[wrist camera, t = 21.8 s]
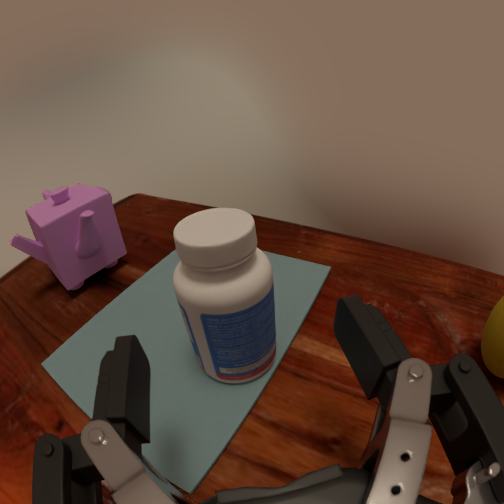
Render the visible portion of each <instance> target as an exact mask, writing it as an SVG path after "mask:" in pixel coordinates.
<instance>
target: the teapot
mask: <svg viewBox="0 0 504 504" xmlns="http://www.w3.org/2000/svg"><path fill="white" fill-rule="evenodd" d="M42 194H43V196H44V199H45V200H44V201H42V202H40V203H38V204H36V205H34V206H33V207H31V208H29V209H27V210H26V211H25V212H26V215H27V217H28V221H29V223H30V225H31V229H32V231H33V234H34V236H35V238H36V241H35V240H31V239H28V238H25V237H22V236H19V235H18V234H17V235H16V236H15V237H14V238H13V239H12V240H11V241H10V244H11V245H12V246H13V247H15V248H17V249H19V250H21V251H23V252H24V253H26V254H28V255H30V256H32V257H34V258H36V259H38V260H40V261H42V262H44V263H46V264H47V265H48V266H49V267H50V269H51V270H52V271H53V273H54V274H55V275H56V277H57V278H58V279H59V280H60V282H61V283H62V284H63V285H64V287H65V288H66V289H67V290H76V289H79V288H80V287H81V286H82V285H83V284H84V280H85V279H87V278H88V277H90V276H91V275H93V274H94V273H96V272H98V271H99V270H101V269H102V268H110V267H113V266H115V265H116V264H117V262H118V260H117V259H119V258H120V257H122V256H124V255H125V254H127V251H126V248H125V245H124V242H123V239H122V235H121V232H120V229H119V225H118V222H117V218H116V215H115V211H114V208H113V204H112V197H111V194H110V193H109V191H108V190H106V189H105V188H101V187H95V188H93V187H90V186H86V185H82V184H77V185H75V186H72V187H70V188H68V186H64V187H60V188H58V189H56V190H54V191H52V192H50V191H49V190H45V191H43V192H42Z"/></svg>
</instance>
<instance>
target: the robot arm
mask: <svg viewBox="0 0 504 504" xmlns="http://www.w3.org/2000/svg"><path fill="white" fill-rule="evenodd" d="M334 332H335V336H336V338H337V340H338V342H339V344H340V346H341V348H342V350H343V352H344V354H345V356H346V358H347V360H348V361H349V363H350V365H351V367H352V369H353V371H354V373H355V375H356V377H357V379H358V381H359V383H360V385H361V387H362V389H363V391H364V393H365V395H366V397H367V399H368V400H370V399H373V398H375V397H377V398H378V400H379V402H380V403H379V405H378V408H377V412H376V416H375V420H374V423H373V427H372V430H371V434H370V437H369V441H368V444H367V446H366V448H365V450H364V452H363V454H362V457H361V459H360V462H359V465H358V467H357V468H341V467H340V464H339V463H338V464H335V465H332V466H329V467H326V468H323V469H320V470H316V471H313V472H310V473H308V474H306V475H304V476H302V477H300V478H298V479H297V480H295V481H293V482H291V483H289V484H287V485H285V486H282V487H241V488H234V489H226V490H218V491H215V493H216V496H213V497H211V498H209V499H207V500H205V501H203V502H202V503H200V504H442V503H439V502H436V501H434V500H431V499H429V498H426V497H424V496H421V495H419V490H420V487H421V483H422V479H423V474H424V470H425V466H426V461H427V456H428V451H429V446H430V440H431V434H432V425H431V424H430V423H428V416H429V418H430V420H431V422H432V424H433V427H434V429H435V431H436V433H437V435H438V437H439V439H440V442H441V444H442V446H443V448H444V450H445V453H446V455H447V457H448V459H449V462H450V464H451V466H452V469H453V471H454V474H455V476H456V477H455V479H454V481H453V484H452V488H451V494H452V496H453V502H452V504H504V407H503V405H502V403H501V402H500V400H499V398H498V396H497V395H496V393H495V391H494V390H493V388H492V386H491V385H490V383H489V382H488V380H487V378H486V377H485V375H484V374H483V372H482V371H481V369H480V367H479V366H478V364H477V363H476V361H475V360H474V359H473V358H472V357H471V356H469V355H467V354H456V355H454V356H453V357H452V358H451V360H450V361H449V363H446V364H437V365H428V364H427V363H426V362H424V361H423V360H421V359H417V358H413V357H412V356H411V354H410V353H409V351H408V350H407V349H406V347H405V346H404V344H403V343H402V341H401V340H400V338H399V337H398V335H397V334H396V332H395V331H394V330H393V329H392V327H391V325H390V324H389V322H387V320H386V318H385V317H384V315H383V314H382V313H381V311H380V310H378V309H377V308H375V307H374V306H373V305H371V304H368V305H365V304H364V303H363V301H362V300H361V298H360V297H359V296H358V295H352V296H348V297H344V298H340V299H339V300H338V302H337V309H336V315H335V321H334ZM150 378H151V370H150V364H149V360H148V358H147V356H146V354H145V352H144V350H143V348H142V346H141V344H140V342H139V340H138V338H137V336H136V335H126V336H117V337H116V339H115V344H114V350H111V351H107V352H106V354H105V355H104V357H103V358H102V360H101V363H100V368H99V375H98V381H97V382H98V384H97V387H96V394H95V401H94V409H93V417H92V421H91V422H89V423H88V424H87V425H86V426H85V427H84V428H83V430H82V432H81V433H80V434H78V435H74V436H71V437H68V438H64V439H60V438H58V437H57V436H55V435H53V434H45V435H43V436H41V437H40V438H39V439H38V440H37V442H36V445H35V450H34V462H33V485H32V504H103V499H102V485H101V481H102V480H105V481H106V482H107V483H108V485H109V486H110V488H111V489H112V492H111V495H112V497H113V499H114V500H115V502H116V503H117V504H193V503H191V502H190V501H189V500H188V499H187V498H186V497H185V496H184V495H183V494H181V493H180V492H179V491H178V490H177V489H175V488H174V487H173V486H172V485H171V484H170V483H169V482H168V481H167V480H166V479H165V478H164V477H163V476H162V475H161V474H160V473H159V471H158V470H157V469H156V468H155V467H154V466H153V465H152V464H151V463H150V462H149V460H148V459H147V458H146V457H145V456H144V455H143V454H142V444H147V443H150Z"/></svg>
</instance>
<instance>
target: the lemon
mask: <svg viewBox="0 0 504 504" xmlns="http://www.w3.org/2000/svg"><path fill="white" fill-rule="evenodd" d="M481 352H482V357H483V361H484V363H485V365H486V367H487V368H488V370H489V371H490V372H491V373H492V374H494V375H495V376H497V377H499V378H503V379H504V296H503V297H502V298H501V299H500V300H499V301H498V303H497V304H496V306H495V307H494V308H493V310H492V312H491V314H490V316H489V318H488V320H487V322H486V324H485V327H484V330H483V334H482V340H481Z"/></svg>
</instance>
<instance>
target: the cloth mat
mask: <svg viewBox="0 0 504 504" xmlns="http://www.w3.org/2000/svg"><path fill="white" fill-rule="evenodd" d="M262 252H263V253H264V254H265V255H266V256H267V257H268V259H269V260H270V262H271V265H272V270H273V282H274V302H275V324H276V345H277V346H276V355H275V359H274V361H273V363H272V365H271V366H270V368H269V369H268V370H267V371H266V372H265V373H263V374H262V375H261V376H259V377H257V378H255V379H253V380H250V381H247V382H243V383H225V382H221V381H218V380H216V379H214V378H212V377H211V376H209V375H208V374H207V373H206V372H205V371H204V370H203V369H202V367H201V365H200V364H199V362H198V359H197V357H196V354H195V352H194V349H193V346H192V343H191V340H190V338H189V335H188V332H187V329H186V326H185V323H184V320H183V317H182V314H181V310H180V308H179V305H178V301H177V298H176V294H175V291H174V287H173V274H174V271H175V268H176V266H177V265H178V263H179V262H180V258H179V257H178V255H177V250H174V251H173V252H172V253H170V254H169V255H168V256H167V257H165V258H164V259H163V260H162V261H160V262H159V263H158V264H157V265H155V266H154V267H153V268H152V269H150V270H149V271H148V272H147V273H146V274H144V275H143V276H142V277H141V278H139V279H138V280H137V281H136V282H134V283H133V284H132V285H131V286H130V287H128V288H127V289H126V290H125V291H124V292H122V293H121V294H120V295H119V296H118V297H116V298H115V299H114V300H113V301H112V302H111V303H109V304H108V305H107V306H106V307H105V308H103V309H102V310H101V311H100V312H99V313H98V314H96V315H95V316H94V317H93V318H92V319H91V320H90V321H88V322H87V323H86V324H85V325H84V326H83V327H82V328H80V329H79V330H78V331H77V332H76V333H75V334H74V335H73V336H71V337H70V338H69V339H68V340H67V341H66V342H65V343H64V344H63V345H61V346H60V347H59V348H58V349H57V350H56V351H55V352H54V353H53V354H52V355H50V356H49V357H48V358H47V359H46V360H45V361H44V362H43V363H42V364H41V365H42V366H43V367H44V368H45V370H46V371H47V372H48V373H49V374H50V376H51V377H52V378H53V379H54V380H55V381H56V383H57V384H58V385H59V386H60V387H61V388H62V389H63V390H64V391H65V393H66V394H67V395H68V396H69V397H70V398H71V399H72V400H73V401H74V402H75V403H76V404H77V405H78V406H79V407H80V408H81V409H82V410H83V411H84V412H85V413H86V414H87V415H88V416H89V417H90V418H91V419H92V417H93V409H94V401H95V394H96V387H97V384H98V382H97V381H98V375H99V368H100V363H101V360H102V358H103V357H104V355H105V354H106V352H107V351H111V350H114V344H115V339H116V337H117V336H126V335H136V336H137V338H138V340H139V342H140V344H141V346H142V348H143V350H144V352H145V354H146V356H147V358H148V360H149V364H150V370H151V378H150V443H147V444H142V454H143V455H144V456H145V457H146V458H147V459H148V460H149V462H150V463H151V464H152V465H153V466H154V467H155V468H156V469H157V470H158V471H159V473H160V474H161V475H162V476H163V477H164V478H166V479H167V480H169V481H170V482H172V483H173V484H175V485H176V486H178V487H179V488H181V489H183V490H184V491H186V492H188V493H189V494H192V493H193V492H194V491H195V490H196V488H197V487H198V486H199V484H200V483H201V482H202V480H203V479H204V478H205V476H206V475H207V474H208V472H209V471H210V470H211V468H212V467H213V465H214V464H215V463H216V461H217V460H218V458H219V457H220V456H221V454H222V453H223V451H224V450H225V448H226V447H227V446H228V444H229V443H230V441H231V440H232V438H233V437H234V435H235V434H236V432H237V431H238V429H239V428H240V426H241V425H242V423H243V422H244V420H245V419H246V417H247V416H248V414H249V413H250V411H251V410H252V408H253V407H254V405H255V403H256V402H257V400H258V399H259V397H260V396H261V394H262V392H263V391H264V389H265V387H266V386H267V384H268V383H269V381H270V379H271V378H272V376H273V374H274V373H275V371H276V369H277V368H278V366H279V364H280V363H281V361H282V359H283V358H284V356H285V354H286V352H287V351H288V349H289V347H290V345H291V344H292V342H293V340H294V338H295V337H296V335H297V333H298V331H299V329H300V328H301V326H302V324H303V322H304V320H305V318H306V317H307V315H308V313H309V311H310V309H311V307H312V305H313V304H314V302H315V300H316V298H317V296H318V294H319V292H320V290H321V288H322V286H323V284H324V282H325V280H326V279H327V277H328V275H329V273H330V271H331V267H329V266H325V265H320V264H316V263H312V262H308V261H303V260H299V259H295V258H291V257H286V256H282V255H278V254H273V253H269V252H265V251H262Z"/></svg>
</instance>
